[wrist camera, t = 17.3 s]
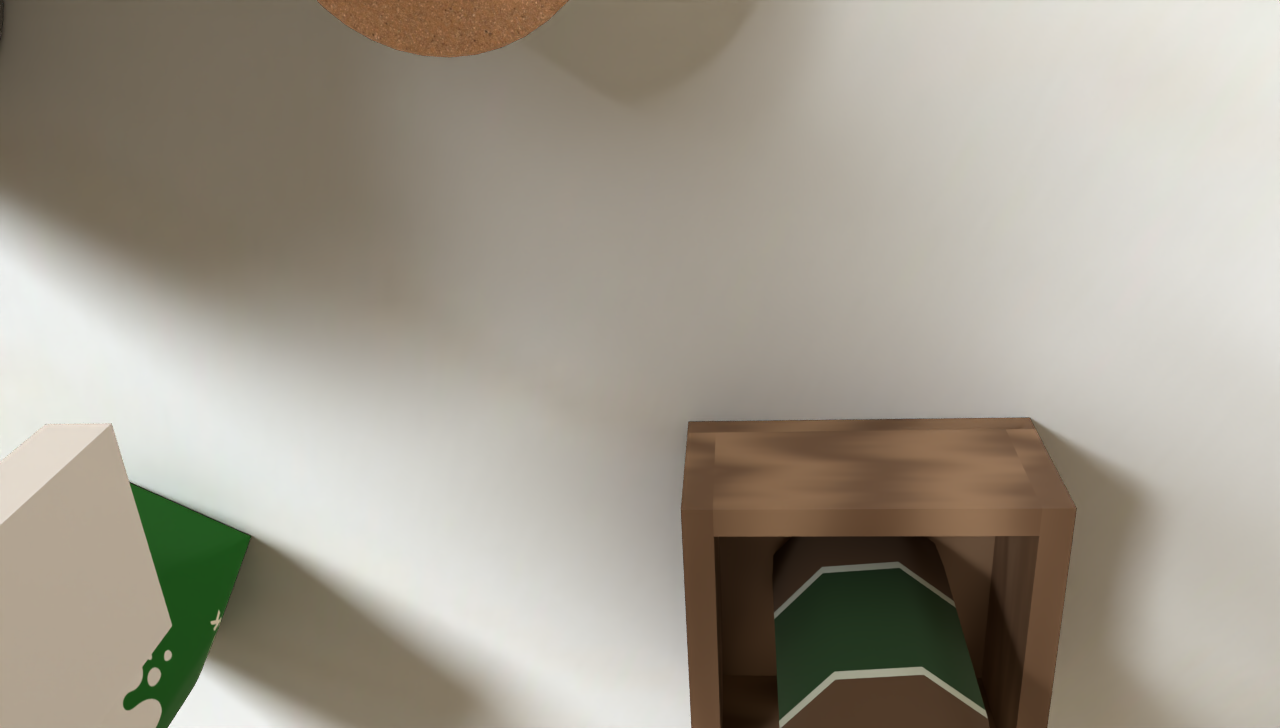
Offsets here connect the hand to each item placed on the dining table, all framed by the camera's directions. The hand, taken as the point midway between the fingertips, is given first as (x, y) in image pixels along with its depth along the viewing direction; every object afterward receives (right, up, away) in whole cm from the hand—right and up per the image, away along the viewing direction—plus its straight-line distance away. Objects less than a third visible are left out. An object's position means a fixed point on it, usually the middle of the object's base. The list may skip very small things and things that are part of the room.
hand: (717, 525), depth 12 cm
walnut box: (+9, -7, +38) cm, 39 cm away
